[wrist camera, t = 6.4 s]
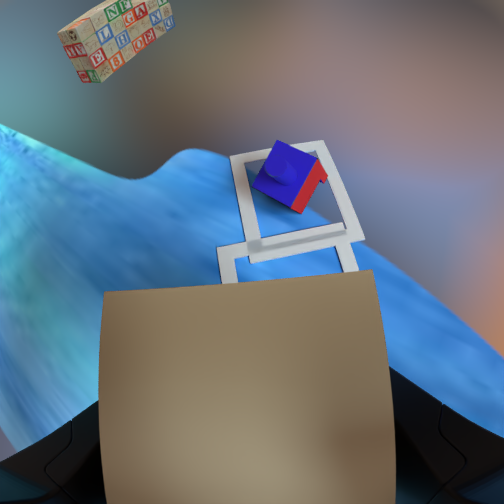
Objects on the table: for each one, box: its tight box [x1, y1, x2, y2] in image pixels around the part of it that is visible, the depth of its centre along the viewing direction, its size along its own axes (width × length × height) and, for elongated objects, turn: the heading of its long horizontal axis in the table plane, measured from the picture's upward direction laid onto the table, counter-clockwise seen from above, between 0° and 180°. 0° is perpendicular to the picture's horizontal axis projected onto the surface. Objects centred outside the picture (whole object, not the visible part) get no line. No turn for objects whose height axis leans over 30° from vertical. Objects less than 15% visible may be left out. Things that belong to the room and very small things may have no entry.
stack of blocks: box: [57, 0, 175, 83], centre depth 39 cm, size 21×6×12 cm, turn 153°
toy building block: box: [251, 140, 328, 214], centre depth 23 cm, size 4×4×8 cm
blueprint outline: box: [217, 140, 365, 284], centre depth 24 cm, size 20×12×1 cm, turn 10°
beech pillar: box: [99, 269, 396, 504], centre depth 9 cm, size 4×4×11 cm
